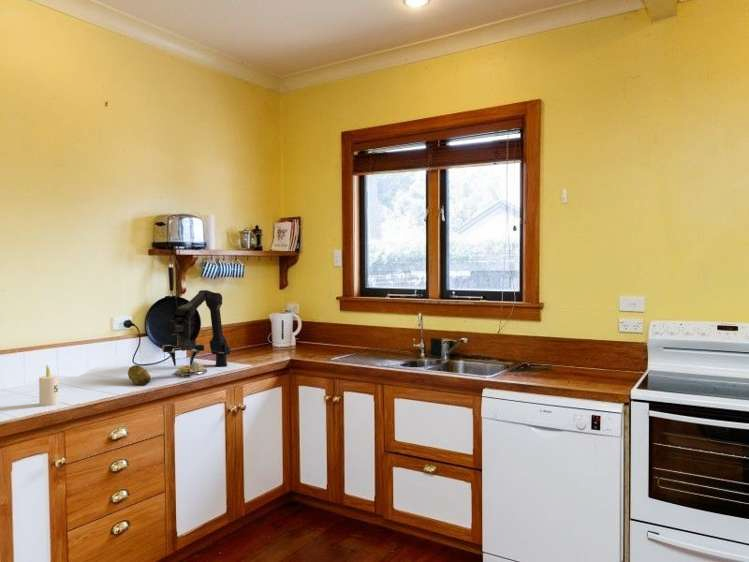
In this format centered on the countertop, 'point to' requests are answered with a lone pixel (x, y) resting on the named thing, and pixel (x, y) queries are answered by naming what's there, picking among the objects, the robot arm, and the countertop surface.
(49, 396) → the candle
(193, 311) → the robot arm
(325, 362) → the countertop surface
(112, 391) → the countertop surface
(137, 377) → the potato
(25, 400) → the countertop surface
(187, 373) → the round metal dish
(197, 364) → the tan curved piece
